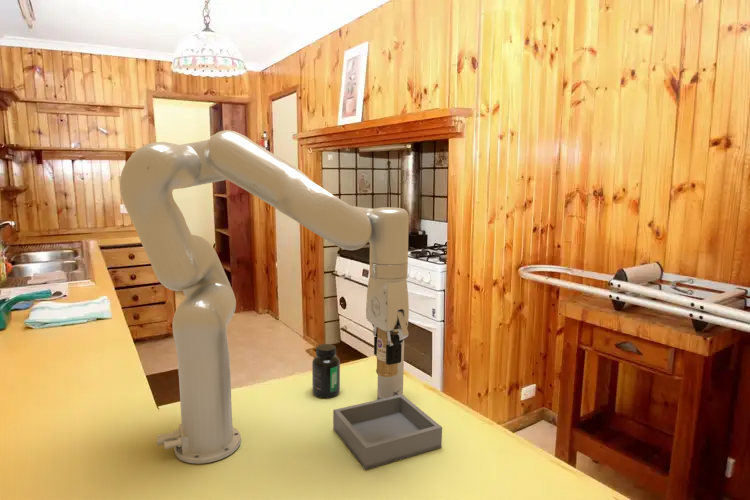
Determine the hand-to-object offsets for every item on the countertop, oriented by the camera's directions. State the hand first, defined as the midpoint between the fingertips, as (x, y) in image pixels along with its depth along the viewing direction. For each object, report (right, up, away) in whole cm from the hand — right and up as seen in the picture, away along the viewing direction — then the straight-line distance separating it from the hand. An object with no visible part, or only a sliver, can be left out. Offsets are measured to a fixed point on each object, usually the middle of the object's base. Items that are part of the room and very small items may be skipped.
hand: (387, 357), depth 97 cm
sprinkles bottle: (0, -3, +1) cm, 4 cm away
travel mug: (+1, -15, +20) cm, 25 cm away
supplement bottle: (-15, -14, +23) cm, 31 cm away
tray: (0, -17, +3) cm, 18 cm away
